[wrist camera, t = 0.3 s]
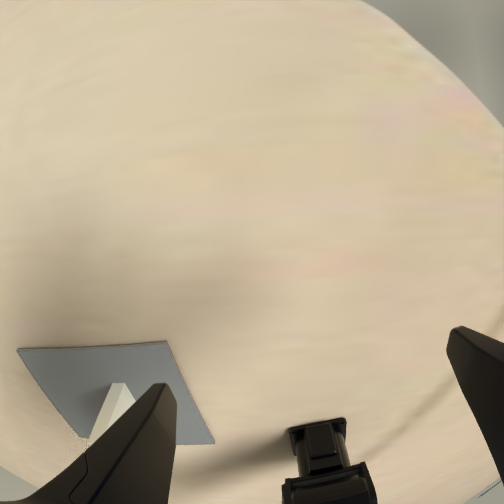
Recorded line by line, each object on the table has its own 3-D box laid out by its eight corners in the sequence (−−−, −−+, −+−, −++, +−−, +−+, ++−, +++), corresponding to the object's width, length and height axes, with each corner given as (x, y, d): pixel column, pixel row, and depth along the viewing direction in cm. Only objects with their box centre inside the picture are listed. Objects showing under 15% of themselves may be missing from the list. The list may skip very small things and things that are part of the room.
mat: (215, 441, 31) (214, 444, 30) (80, 435, 32) (80, 437, 31) (166, 341, 25) (165, 344, 24) (17, 348, 26) (16, 350, 25)
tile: (151, 424, 29) (136, 482, 21) (139, 424, 29) (123, 480, 22) (124, 383, 26) (100, 445, 19) (112, 383, 26) (86, 443, 19)
